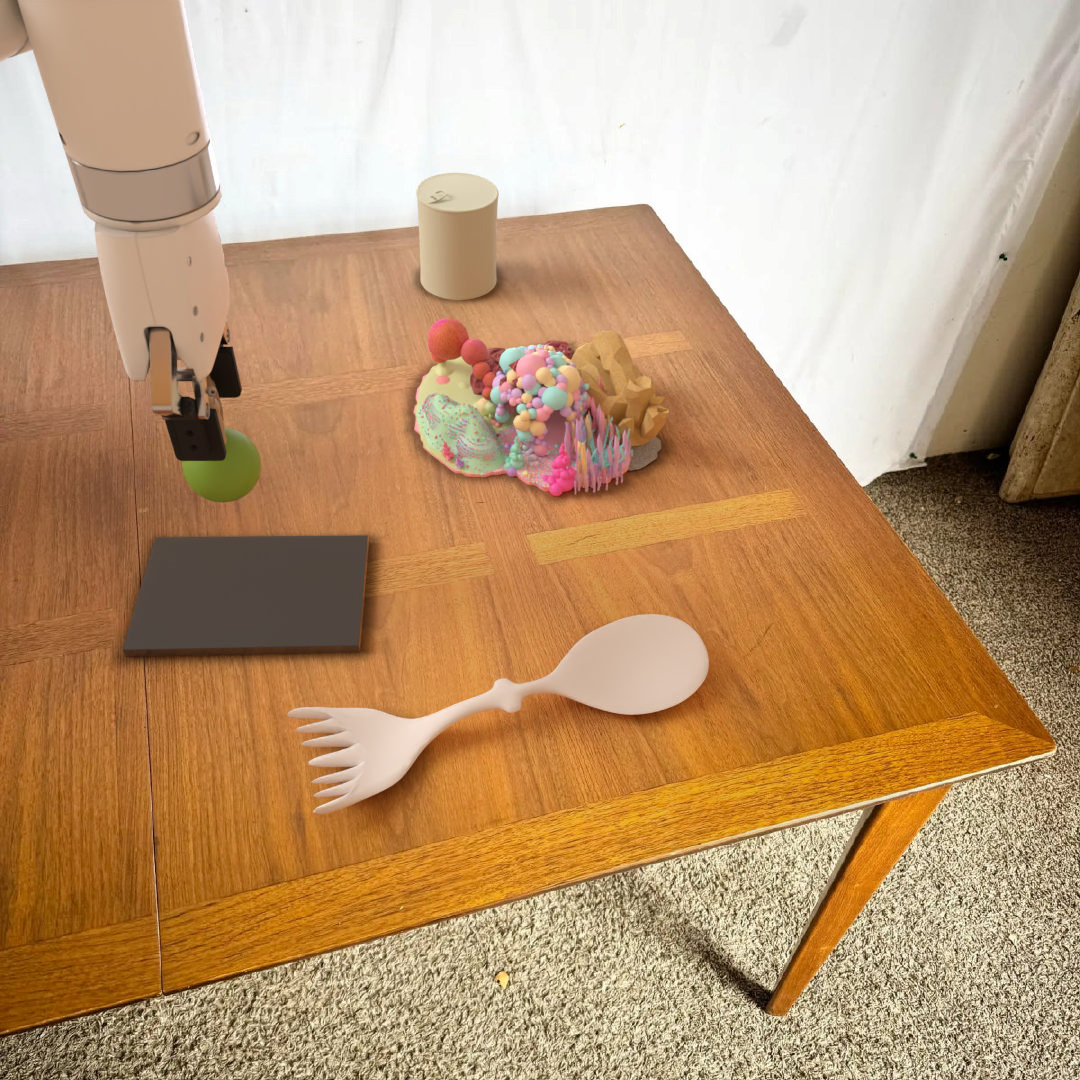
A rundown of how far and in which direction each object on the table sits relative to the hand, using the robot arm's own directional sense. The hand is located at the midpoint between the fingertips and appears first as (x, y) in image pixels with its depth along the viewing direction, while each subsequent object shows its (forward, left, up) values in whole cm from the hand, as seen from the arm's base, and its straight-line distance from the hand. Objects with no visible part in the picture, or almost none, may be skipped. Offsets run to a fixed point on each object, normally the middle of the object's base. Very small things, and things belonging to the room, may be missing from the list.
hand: (210, 423), depth 66 cm
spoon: (+21, -12, -19) cm, 31 cm away
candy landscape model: (+25, +23, -19) cm, 39 cm away
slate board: (0, 0, -19) cm, 19 cm away
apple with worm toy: (0, 0, -7) cm, 7 cm away
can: (+17, +49, -19) cm, 55 cm away
